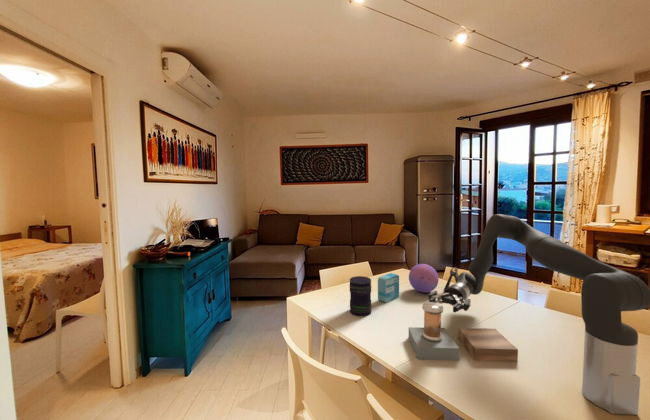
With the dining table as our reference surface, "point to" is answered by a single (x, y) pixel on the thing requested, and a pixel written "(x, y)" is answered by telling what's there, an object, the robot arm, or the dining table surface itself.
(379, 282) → the data package
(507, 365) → the dining table surface
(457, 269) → the phone stand
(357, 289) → the dark blue cylinder
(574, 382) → the dining table surface
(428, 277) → the decorative ball
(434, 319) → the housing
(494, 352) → the walnut stand
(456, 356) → the slate stand
